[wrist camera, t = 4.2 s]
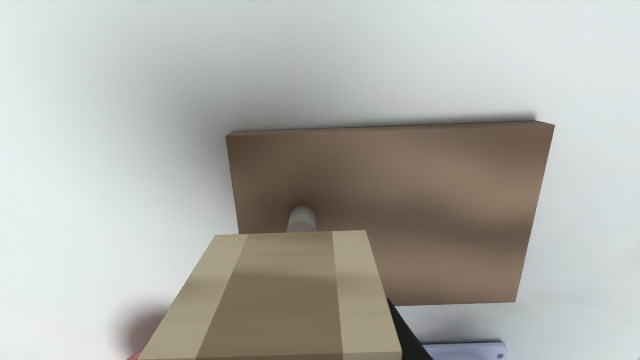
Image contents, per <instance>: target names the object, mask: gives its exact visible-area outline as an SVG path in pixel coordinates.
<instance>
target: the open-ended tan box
mask: <svg viewBox="0 0 640 360" xmlns="http://www.w3.org/2000/svg"><path fill="white" fill-rule="evenodd" d="M401 359H402V349H401V346H400V343H399V339H398V336H397V333H396V329H395V326H394V323H393V319H392V316H391V313H390V309H389V306H388V303H387V300H386V296H385V293H384V290H383V286H382V283H381V280H380V276H379V273H378V270H377V266H376V263H375V260H374V256H373V253H372V250H371V246H370V243H369V240H368V236H367V233H366V230H353V231H323V232H294V233H264V234H234V235H215V236H214V238H213V240H212V241H211V243H210V244H209V246H208V248H207V249H206V251H205V252H204V254H203V256H202V257H201V259H200V260H199V262H198V263H197V265H196V267H195V268H194V270H193V271H192V273H191V275H190V276H189V278H188V279H187V281H186V283H185V284H184V286H183V287H182V289H181V291H180V292H179V294H178V295H177V297H176V298H175V300H174V302H173V303H172V305H171V306H170V308H169V310H168V311H167V313H166V314H165V316H164V318H163V319H162V321H161V322H160V324H159V326H158V327H157V329H156V330H155V332H154V334H153V335H152V337H151V338H150V340H149V341H148V343H147V345H146V346H145V348H144V349H143V351H142V353H141V354H140V356H139V357H138V359H137V360H401Z"/></svg>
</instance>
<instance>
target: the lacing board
mask: <svg viewBox="0 0 640 360" xmlns="http://www.w3.org/2000/svg"><path fill="white" fill-rule="evenodd" d="M554 127H555V125H553V124H549V123H544V122H540V121H514V122H486V123H458V124H430V125H402V126H374V127H346V128H318V129H290V130H262V131H234V132H231V133H230V134H229V135H227V136H226V143H227V150H228V157H229V164H230V171H231V178H232V186H233V193H234V200H235V207H236V214H237V221H238V228H239V234H264V233H294V232H323V231H353V230H366V233H367V236H368V240H369V243H370V246H371V250H372V253H373V256H374V260H375V263H376V266H377V270H378V273H379V276H380V280H381V283H382V286H383V290H384V293H385V296H386V298H388V299H390V300H391V302H392V303H393V305H394V306H413V305H444V304H474V303H505V302H515V300H516V295H517V291H518V287H519V282H520V278H521V273H522V269H523V265H524V260H525V256H526V251H527V247H528V242H529V238H530V234H531V229H532V225H533V220H534V216H535V211H536V207H537V203H538V198H539V194H540V189H541V185H542V180H543V176H544V172H545V167H546V163H547V158H548V154H549V149H550V145H551V141H552V136H553V132H554Z"/></svg>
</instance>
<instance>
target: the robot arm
mask: <svg viewBox="0 0 640 360" xmlns="http://www.w3.org/2000/svg"><path fill="white" fill-rule="evenodd" d="M386 300H387V303H388V306H389V309H390V313H391V316H392V319H393V323H394V326H395V329H396V333H397V336H398V339H399V343H400V346H401V349H402V359H401V360H505V359H506V355H507V347H506V346H505V344H504V343H500V342H498V343H466V344H435V345H422V344H421V343H420V342H419V340H418V339H417V338H416V337H415V335H414V334H413V332H412V331H411V330H410V328H409V327H408V326H407V324H406V323H405V321H404V320H403V318H402V317H401V316H400V314H399V313H398V311H397V309H396V308H395V306H394V305H393V303H392V302H391V300H390V299H388V298H386Z"/></svg>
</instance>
